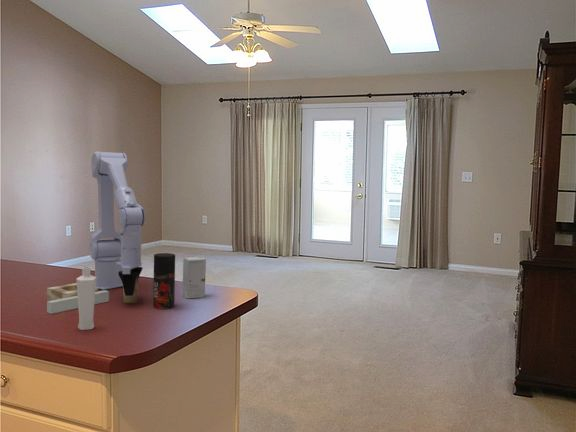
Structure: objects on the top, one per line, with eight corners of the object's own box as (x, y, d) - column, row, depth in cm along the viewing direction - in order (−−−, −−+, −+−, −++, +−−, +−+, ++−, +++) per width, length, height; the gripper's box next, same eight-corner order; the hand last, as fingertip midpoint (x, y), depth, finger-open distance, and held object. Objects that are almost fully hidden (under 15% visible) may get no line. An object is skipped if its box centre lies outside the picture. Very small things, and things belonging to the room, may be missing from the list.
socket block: (78, 295, 158) (78, 282, 158) (98, 301, 152) (98, 287, 152) (46, 301, 150) (46, 288, 149) (66, 307, 144) (66, 293, 144)
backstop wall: (104, 300, 154) (104, 290, 153) (108, 301, 153) (109, 291, 152) (46, 312, 139) (46, 301, 139) (51, 313, 138) (51, 302, 138)
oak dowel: (130, 299, 156) (130, 272, 155) (140, 301, 154) (140, 274, 153) (120, 301, 153) (120, 275, 152) (129, 304, 150) (129, 276, 150)
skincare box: (187, 299, 158) (188, 260, 157) (181, 296, 162) (182, 257, 161) (205, 297, 162) (206, 258, 161) (199, 294, 166) (200, 256, 165)
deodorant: (178, 305, 151) (179, 254, 150) (167, 310, 146) (167, 257, 144) (160, 302, 153) (161, 252, 152) (148, 307, 148) (149, 255, 146)
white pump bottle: (79, 324, 130) (79, 265, 128) (97, 324, 130) (97, 265, 129) (73, 330, 125) (73, 269, 124) (91, 330, 126) (92, 269, 124)
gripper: (121, 244, 159) (121, 287, 160) (111, 251, 144) (111, 299, 145) (145, 244, 159) (144, 288, 161) (137, 252, 145) (137, 299, 146)
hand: (130, 293), depth 153 cm, fingers closed on oak dowel, 4 cm apart
